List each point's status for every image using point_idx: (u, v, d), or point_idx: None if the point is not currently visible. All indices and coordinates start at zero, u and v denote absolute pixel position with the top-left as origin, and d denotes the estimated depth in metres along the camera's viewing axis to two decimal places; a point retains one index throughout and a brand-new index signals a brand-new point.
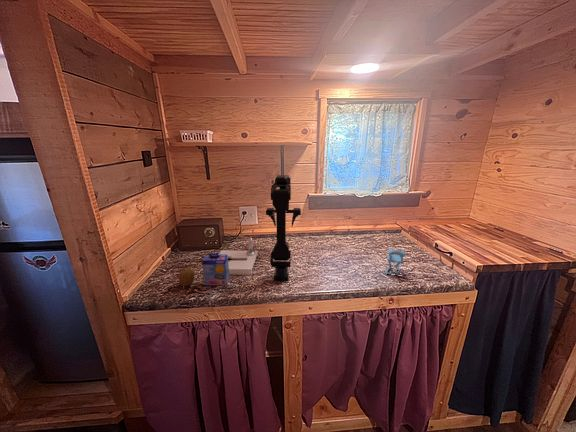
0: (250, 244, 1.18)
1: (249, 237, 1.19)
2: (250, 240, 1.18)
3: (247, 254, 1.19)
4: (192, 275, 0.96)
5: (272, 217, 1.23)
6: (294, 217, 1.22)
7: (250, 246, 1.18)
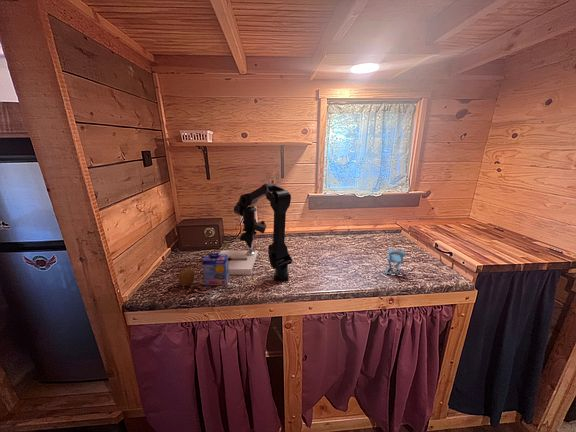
0: None
1: None
2: None
3: (247, 254, 1.19)
4: (192, 275, 0.96)
5: None
6: None
7: None
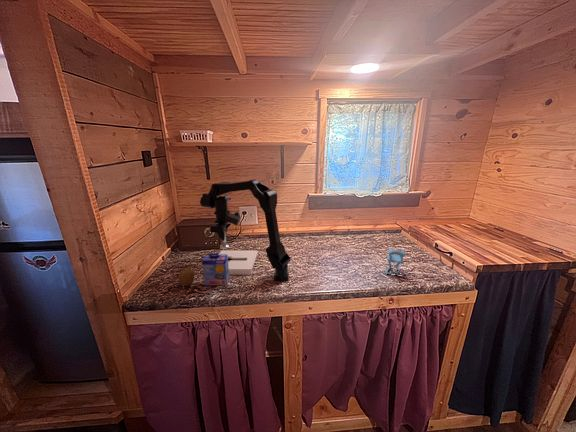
0: None
1: None
2: None
3: (220, 247, 1.12)
4: (192, 275, 0.96)
5: None
6: None
7: None
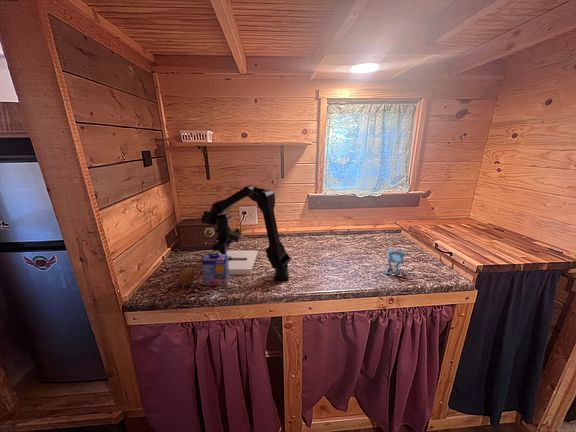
0: None
1: None
2: None
3: None
4: (192, 275, 0.96)
5: None
6: None
7: None
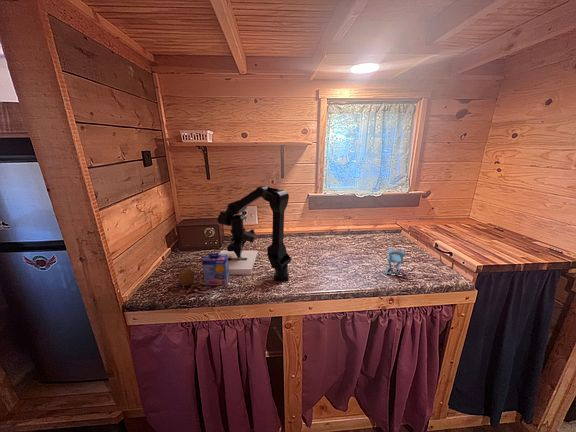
0: None
1: None
2: None
3: None
4: (192, 275, 0.96)
5: None
6: None
7: None
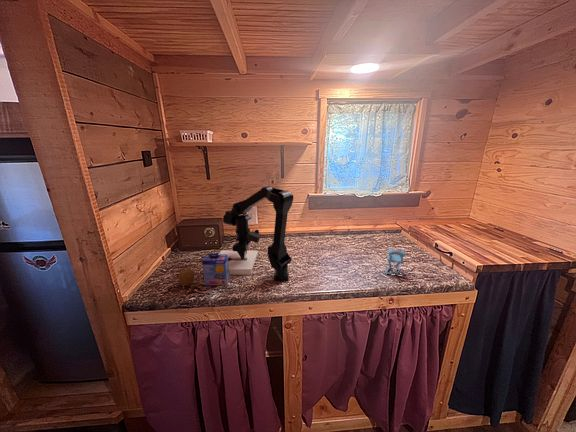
0: None
1: None
2: None
3: None
4: (192, 275, 0.96)
5: None
6: None
7: None
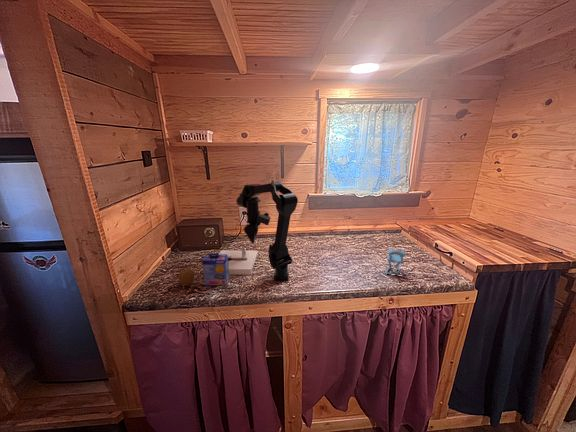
0: (244, 254, 1.13)
1: (242, 247, 1.14)
2: (243, 250, 1.13)
3: None
4: (192, 275, 0.96)
5: None
6: None
7: (244, 256, 1.14)
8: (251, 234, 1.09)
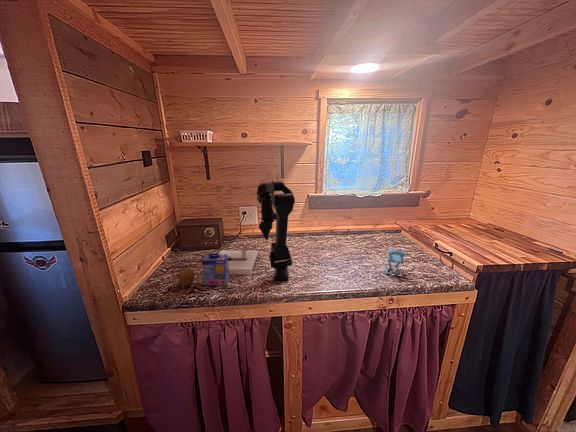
0: (244, 254, 1.13)
1: (242, 247, 1.14)
2: (243, 250, 1.13)
3: None
4: (192, 275, 0.96)
5: None
6: None
7: (244, 256, 1.14)
8: (265, 231, 1.13)
